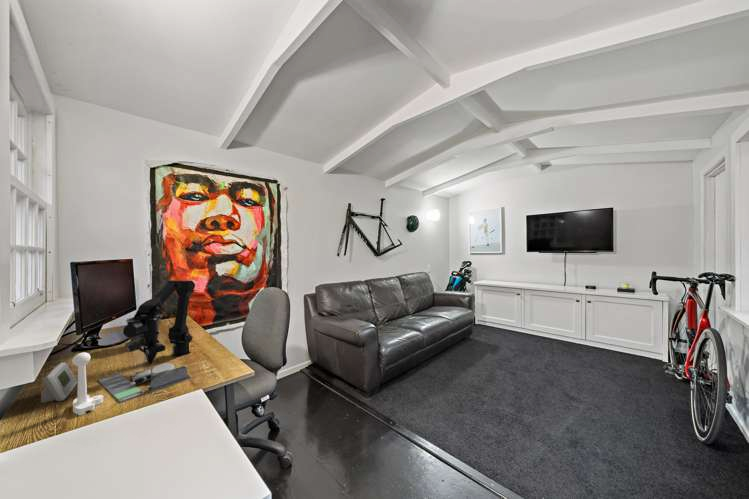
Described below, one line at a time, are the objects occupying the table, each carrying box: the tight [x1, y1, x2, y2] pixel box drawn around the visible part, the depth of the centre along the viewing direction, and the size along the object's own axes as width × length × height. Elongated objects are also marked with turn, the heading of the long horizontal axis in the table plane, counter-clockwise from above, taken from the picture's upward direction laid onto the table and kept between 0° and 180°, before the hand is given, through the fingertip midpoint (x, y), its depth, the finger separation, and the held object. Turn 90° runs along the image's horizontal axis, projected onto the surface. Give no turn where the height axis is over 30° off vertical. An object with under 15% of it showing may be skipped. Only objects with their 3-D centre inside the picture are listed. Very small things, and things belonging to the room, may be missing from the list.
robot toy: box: [130, 360, 176, 386], centre depth 119 cm, size 12×4×15 cm
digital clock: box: [40, 362, 78, 403], centre depth 107 cm, size 16×9×11 cm, turn 24°
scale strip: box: [97, 372, 145, 404], centre depth 112 cm, size 7×31×1 cm, turn 57°
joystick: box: [72, 352, 104, 416], centre depth 99 cm, size 11×8×20 cm
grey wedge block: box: [147, 365, 191, 393], centre depth 115 cm, size 14×4×5 cm, turn 147°
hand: (150, 363), depth 127 cm, fingers closed
